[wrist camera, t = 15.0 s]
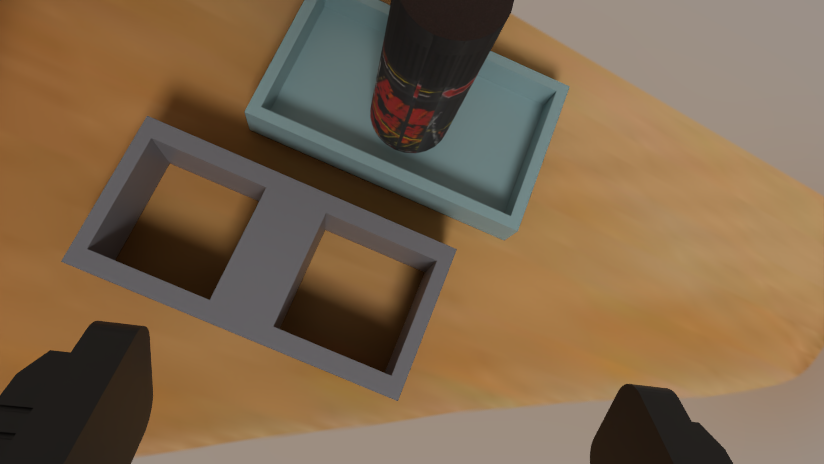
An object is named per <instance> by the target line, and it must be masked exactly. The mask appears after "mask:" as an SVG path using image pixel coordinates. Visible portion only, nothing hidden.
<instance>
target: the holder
mask: <svg viewBox="0 0 824 464" xmlns="http://www.w3.org/2000/svg"><path fill="white" fill-rule="evenodd" d="M170 163H171V164H173V165H175V166H178V167H180V168H182V169H185V170H187V171H189V172H192V173H194V174H196V175H199V176H201V177H204V178H206V179H208V180H211V181H213V182H215V183H218V184H220V185H222V186H225V187H227V188H229V189H232V190H234V191H236V192H239V193H241V194H243V195H246V196H248V197H250V198H253V199H255V200H257V201H259V203H258V205H257V207H256V209H255V211H254V213H253V215H252V217H251V219H250V221H249V223H248V225H247V227H246V229H245V231H244V233H243V235H242V237H241V239H240V241H239V243H238V245H237V247H236V249H235V251H234V253H233V255H232V257H231V259H230V261H229V263H228V265H227V267H226V269H225V271H224V273H223V275H222V277H221V279H220V281H219V283H218V285H217V287H216V289H215V291H214V293H213V295H212V296H211V298H210V300H208V299H206V298H204V297H201V296H199V295H196V294H194V293H192V292H189V291H187V290H184V289H182V288H180V287H177V286H175V285H172V284H170V283H168V282H165V281H163V280H160V279H158V278H156V277H153V276H151V275H148V274H146V273H144V272H141V271H139V270H136V269H134V268H132V267H129V266H127V265H124V264H122V263H120V262H117V261H115V260H116V258H117V256H118V254H119V252H120V251H121V249H122V247H123V245H124V244H125V242H126V240H127V238H128V236H129V235H130V233H131V231H132V229H133V228H134V226H135V224H136V222H137V220H138V219H139V217H140V215H141V213H142V212H143V210H144V208H145V206H146V204H147V203H148V201H149V199H150V197H151V196H152V194H153V192H154V190H155V188H156V187H157V185H158V183H159V181H160V180H161V178H162V176H163V174H164V172H165V171H166V169H167V167H168V165H169V164H170ZM325 230H327V231H330V232H332V233H334V234H337V235H339V236H341V237H344V238H346V239H348V240H351V241H353V242H355V243H358V244H360V245H362V246H365V247H367V248H369V249H372V250H374V251H376V252H379V253H381V254H383V255H386V256H388V257H390V258H393V259H395V260H397V261H400V262H402V263H404V264H407V265H409V266H411V267H414V268H416V269H418V270H421V271H423V272H425V273H424V275H423V278H422V280H421V283H420V285H419V288H418V290H417V293H416V295H415V298H414V300H413V303H412V305H411V308H410V310H409V313H408V315H407V318H406V320H405V323H404V325H403V328H402V330H401V333H400V335H399V338H398V340H397V343H396V345H395V348H394V350H393V353H392V355H391V358H390V360H389V363H388V365H387V368H386V370H385V373H383V372H381V371H379V370H376V369H374V368H371V367H369V366H367V365H364V364H362V363H359V362H357V361H355V360H352V359H350V358H347V357H345V356H343V355H340V354H338V353H335V352H333V351H331V350H328V349H326V348H323V347H321V346H319V345H316V344H314V343H311V342H309V341H307V340H304V339H302V338H300V337H297V336H295V335H292V334H290V333H288V332H285V331H283V330H280V327H281V325H282V323H283V320H284V318H285V316H286V314H287V312H288V310H289V307H290V305H291V303H292V301H293V299H294V297H295V294H296V292H297V290H298V288H299V286H300V283H301V281H302V279H303V277H304V275H305V273H306V270H307V268H308V266H309V264H310V262H311V260H312V257H313V255H314V253H315V251H316V249H317V247H318V244H319V242H320V240H321V238H322V236H323V234H324V231H325ZM456 250H457V249H455V248H452V247H450V246H448V245H445V244H443V243H441V242H438V241H436V240H434V239H432V238H429V237H427V236H425V235H422V234H420V233H418V232H415V231H413V230H411V229H408V228H406V227H404V226H401V225H399V224H397V223H395V222H392V221H390V220H388V219H385V218H383V217H381V216H378V215H376V214H374V213H371V212H369V211H367V210H364V209H362V208H360V207H357V206H355V205H353V204H351V203H348V202H346V201H344V200H341V199H339V198H337V197H334V196H332V195H330V194H327V193H325V192H323V191H320V190H318V189H316V188H313V187H311V186H309V185H307V184H304V183H302V182H300V181H297V180H295V179H293V178H290V177H288V176H286V175H283V174H281V173H279V172H276V171H274V170H272V169H269V168H267V167H265V166H263V165H260V164H258V163H256V162H253V161H251V160H249V159H246V158H244V157H242V156H239V155H237V154H235V153H232V152H230V151H228V150H226V149H223V148H221V147H219V146H216V145H214V144H212V143H209V142H207V141H205V140H202V139H200V138H198V137H195V136H193V135H191V134H188V133H186V132H184V131H182V130H179V129H177V128H175V127H172V126H170V125H168V124H165V123H163V122H161V121H158V120H156V119H154V118H151V117H149V116H147V117H146V119H145V120H144V122H143V124H142V125H141V127H140V129H139V130H138V132H137V134H136V136H135V137H134V139H133V141H132V142H131V144H130V146H129V147H128V149H127V151H126V153H125V154H124V156H123V158H122V159H121V161H120V163H119V164H118V166H117V168H116V169H115V171H114V173H113V175H112V176H111V178H110V180H109V181H108V183H107V185H106V186H105V188H104V190H103V192H102V193H101V195H100V197H99V198H98V200H97V202H96V203H95V205H94V207H93V208H92V210H91V212H90V214H89V215H88V217H87V219H86V220H85V222H84V224H83V225H82V227H81V229H80V231H79V232H78V234H77V236H76V237H75V239H74V241H73V242H72V244H71V246H70V247H69V249H68V251H67V253H66V254H65V256H64V258H63V259H62V261H61V262H64V263H66V264H68V265H71V266H73V267H76V268H78V269H80V270H83V271H85V272H88V273H90V274H92V275H95V276H97V277H100V278H102V279H105V280H107V281H109V282H112V283H114V284H117V285H119V286H121V287H124V288H126V289H129V290H131V291H133V292H136V293H138V294H141V295H143V296H146V297H148V298H150V299H153V300H155V301H158V302H160V303H162V304H165V305H167V306H170V307H172V308H174V309H177V310H179V311H182V312H184V313H187V314H189V315H191V316H194V317H196V318H199V319H201V320H203V321H206V322H208V323H211V324H213V325H215V326H218V327H220V328H223V329H225V330H228V331H230V332H232V333H235V334H237V335H240V336H242V337H244V338H247V339H249V340H252V341H254V342H257V343H259V344H261V345H264V346H266V347H269V348H271V349H273V350H276V351H278V352H281V353H283V354H285V355H288V356H290V357H293V358H295V359H298V360H300V361H302V362H305V363H307V364H310V365H312V366H314V367H317V368H319V369H322V370H324V371H326V372H329V373H331V374H334V375H336V376H339V377H341V378H343V379H346V380H348V381H351V382H353V383H355V384H358V385H360V386H363V387H365V388H367V389H370V390H372V391H375V392H377V393H380V394H382V395H384V396H387V397H389V398H392V399H394V400H396V401H398V400H399V397H400V394H401V392H402V389H403V387H404V384H405V381H406V379H407V376H408V374H409V371H410V369H411V366H412V363H413V361H414V358H415V356H416V353H417V350H418V348H419V345H420V343H421V340H422V338H423V335H424V332H425V330H426V327H427V325H428V322H429V320H430V317H431V314H432V312H433V309H434V307H435V304H436V301H437V299H438V296H439V294H440V291H441V289H442V286H443V283H444V281H445V278H446V276H447V273H448V271H449V268H450V265H451V263H452V260H453V258H454V255H455V252H456Z"/></svg>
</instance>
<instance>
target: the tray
mask: <svg viewBox="0 0 824 464" xmlns="http://www.w3.org/2000/svg"><path fill="white" fill-rule="evenodd" d="M389 10H390V5H388V4H386V3H384V2H382V1H380V0H304V2H303V4H302V6H301V7H300V9H299V11H298V13H297V15H296V17H295V19H294V21H293V22H292V24H291V26H290V28H289V30H288V32H287V34H286V35H285V37H284V39H283V41H282V43H281V45H280V47H279V48H278V50H277V52H276V54H275V56H274V58H273V60H272V62H271V63H270V65H269V67H268V69H267V71H266V73H265V75H264V76H263V78H262V80H261V82H260V84H259V86H258V88H257V89H256V91H255V93H254V95H253V97H252V99H251V101H250V103H249V104H248V106H247V108H246V110H245V115H246V119H247V122H248V125H249V129H250V130H251V131H254V132H256V133H258V134H260V135H263V136H265V137H267V138H270V139H272V140H274V141H277V142H279V143H281V144H283V145H286V146H288V147H290V148H293V149H295V150H297V151H300V152H302V153H304V154H306V155H309V156H311V157H313V158H316V159H318V160H320V161H323V162H325V163H327V164H329V165H332V166H334V167H336V168H339V169H341V170H343V171H346V172H348V173H350V174H352V175H355V176H357V177H359V178H362V179H364V180H366V181H369V182H371V183H373V184H375V185H378V186H380V187H382V188H385V189H387V190H389V191H392V192H394V193H396V194H398V195H401V196H403V197H405V198H408V199H410V200H412V201H415V202H417V203H419V204H421V205H424V206H426V207H428V208H431V209H433V210H435V211H437V212H440V213H442V214H444V215H447V216H449V217H451V218H454V219H456V220H458V221H460V222H463V223H465V224H467V225H470V226H472V227H474V228H477V229H479V230H481V231H483V232H486V233H488V234H490V235H493V236H495V237H497V238H500V239H502V240H506V239H507V238H509V237H510V236H511V235H513V234H514V233H516V232H517V231H518V229H519V226H520V223H521V221H522V218H523V215H524V212H525V209H526V207H527V204H528V201H529V198H530V196H531V193H532V190H533V187H534V184H535V182H536V179H537V176H538V173H539V170H540V168H541V165H542V162H543V159H544V157H545V154H546V151H547V148H548V145H549V143H550V140H551V137H552V134H553V131H554V129H555V126H556V123H557V120H558V118H559V115H560V112H561V109H562V106H563V104H564V101H565V98H566V95H567V93H568V90H569V86H567V85H565V84H563V83H561V82H558V81H556V80H554V79H552V78H550V77H547V76H545V75H543V74H541V73H539V72H536V71H534V70H532V69H530V68H527V67H525V66H523V65H521V64H519V63H516V62H514V61H512V60H510V59H508V58H505V57H503V56H501V55H499V54H497V53H494V52H492V51H490V52H489V54H488V56H487V58H486V60H485V62H484V64H483V65H482V67H481V69H480V71H479V73H478V75H477V77H476V78H475V80H474V82H473V84H472V86H471V88H470V90H469V92H468V93H467V95H466V97H465V99H464V101H463V103H462V105H461V106H460V108H459V110H458V112H457V114H456V116H455V118H454V119H453V121H452V123H451V125H450V127H449V129H448V131H447V132H446V134H445V136H444V137H443V139H442V140H441V141H440V142H439V143H438V144H437V145H436V146H435V147H433V148H431V149H429V150H427V151H425V152H420V153H404V152H401V151H397V150H395V149H393V148H391V147H390V146H388V145H386V144H385V143H384V142H383V141H382V140H381V139H380V138H379V137H378V135H377V134H376V132H375V130H374V129H373V126H372V122H371V119H370V108H371V103H372V98H373V93H374V88H375V82H376V77H377V72H378V67H379V62H380V57H381V51H382V46H383V41H384V36H385V31H386V26H387V20H388V15H389Z"/></svg>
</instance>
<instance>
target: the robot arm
mask: <svg viewBox="0 0 824 464" xmlns="http://www.w3.org/2000/svg"><path fill="white" fill-rule="evenodd" d="M152 401H153V385H152V368H151V352H150V336H149V331H148V328H147V327H145V326H138V325H129V324H121V323H112V322H103V321H94V322H93V323H92V324H91V325H89V327H88V328H87V329H86V331H85V332H84V334H83V335H82V337H81V338H80V340H79V341H78V343H77V344H76V346H75V347H74V349H73V350H72V352H71V353H70V352H61V351H51V350H50V351H49V352H47V353H46V354H44V355H43V356H41V357H40V358H39V359H37V360H36V361H34V362H33V363H31V364H30V365H29V366H27V367H26V368H24V369H23V370H21V371H20V372H19V373H17V374H16V375H15V377H14V378H13V379H12V381H11V382H10V383H9V384H8V386H7V387H6V388H5V390H4V391H3V392H2V394H1V395H0V464H131V462H132V460H133V458H134V455H135V453H136V451H137V449H138V446H139V444H140V442H141V440H142V437H143V435H144V433H145V430H146V427H147V424H148V421H149V417H150V413H151V408H152ZM590 464H733V462H732V461H731V459H730V457H729V456H728V454H727V452H726V450H725V449H724V448H723V447H722V446H721V445H720V444H719V443H718V442H717V441H716V440H715V439H714V438H713V437H712V436H711V435H710V434H709V433H708V432H707V431H706V430H705V429H704V427H703V426H702V425H700V423H696V422H691V420H690V418H689V416H688V414H687V413H686V411H685V409H684V407H683V405H682V404H681V402H680V400H679V398H678V397H677V395H676V394H675V393H674V392H673V391H672V390H670V389H668V388H659V387H651V386H642V385H633V384H626V385H624V386H622V387H621V388H620V390H619V391H618V393H617V395H616V397H615V399H614V401H613V403H612V405H611V407H610V409H609V410H608V412H607V414H606V416H605V418H604V420H603V422H602V424H601V426H600V428H599V430H598V431H597V433H596V435H595V437H594V439H593V442H592V445H591V451H590Z"/></svg>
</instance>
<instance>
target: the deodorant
mask: <svg viewBox="0 0 824 464" xmlns="http://www.w3.org/2000/svg"><path fill="white" fill-rule="evenodd" d="M513 2H514V0H391V5H390V10H389V15H388V20H387V26H386V31H385V36H384V41H383V46H382V51H381V57H380V62H379V67H378V72H377V77H376V82H375V88H374V93H373V98H372V103H371V108H370V119H371V122H372V126H373V129H374V130H375V132H376V134H377V135H378V137H379V138H380V139H381V140H382V141H383V142H384V143H385V144H386V145H388V146H390V147H391V148H393V149H395V150H397V151H401V152H404V153H420V152H425V151H427V150H429V149H431V148H433V147H435V146H436V145H437V144H438V143H439V142H440V141H441V140H442V139H443V137H444V136H445V134H446V132H447V131H448V129H449V127H450V125H451V123H452V121H453V119H454V118H455V116H456V114H457V112H458V110H459V108H460V106H461V105H462V103H463V101H464V99H465V97H466V95H467V93H468V92H469V90H470V88H471V86H472V84H473V82H474V80H475V78H476V77H477V75H478V73H479V71H480V69H481V67H482V65H483V64H484V62H485V60H486V58H487V56H488V54H489V52H490V50H491V49H492V47H493V45H494V43H495V41H496V39H497V37H498V36H499V34H500V32H501V30H502V28H503V26H504V24H505V22H506V21H507V19H508V17H509V15H510V13H511V10H512V6H513Z"/></svg>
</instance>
